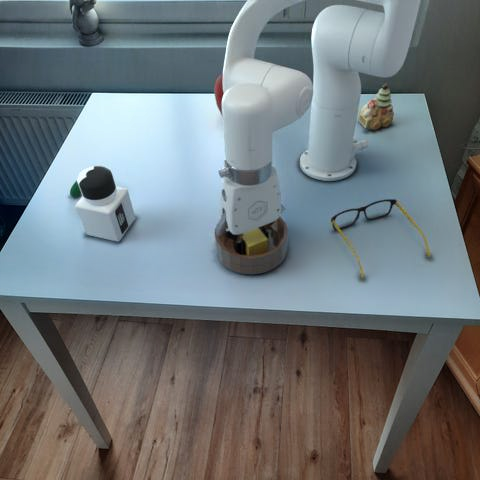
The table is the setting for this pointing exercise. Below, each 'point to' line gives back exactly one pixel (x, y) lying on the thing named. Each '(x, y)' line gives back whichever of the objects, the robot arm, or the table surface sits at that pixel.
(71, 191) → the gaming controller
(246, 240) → the cheese
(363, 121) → the ornament
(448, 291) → the table surface
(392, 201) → the eyeglasses
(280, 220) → the bowl
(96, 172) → the container
